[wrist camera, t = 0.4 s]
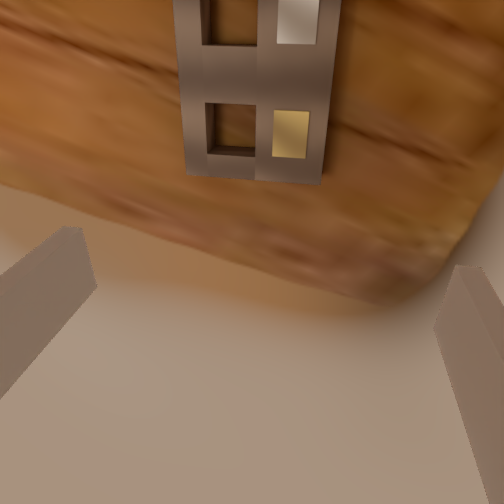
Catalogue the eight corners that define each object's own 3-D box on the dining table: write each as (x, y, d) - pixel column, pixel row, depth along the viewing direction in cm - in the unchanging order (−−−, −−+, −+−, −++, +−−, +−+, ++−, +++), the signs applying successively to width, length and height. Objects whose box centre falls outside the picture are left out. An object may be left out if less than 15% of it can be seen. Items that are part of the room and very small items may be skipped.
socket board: (181, -54, 31) (166, -62, 28) (347, -56, 29) (348, -65, 26) (195, 164, 40) (185, 175, 37) (321, 174, 38) (320, 186, 35)
